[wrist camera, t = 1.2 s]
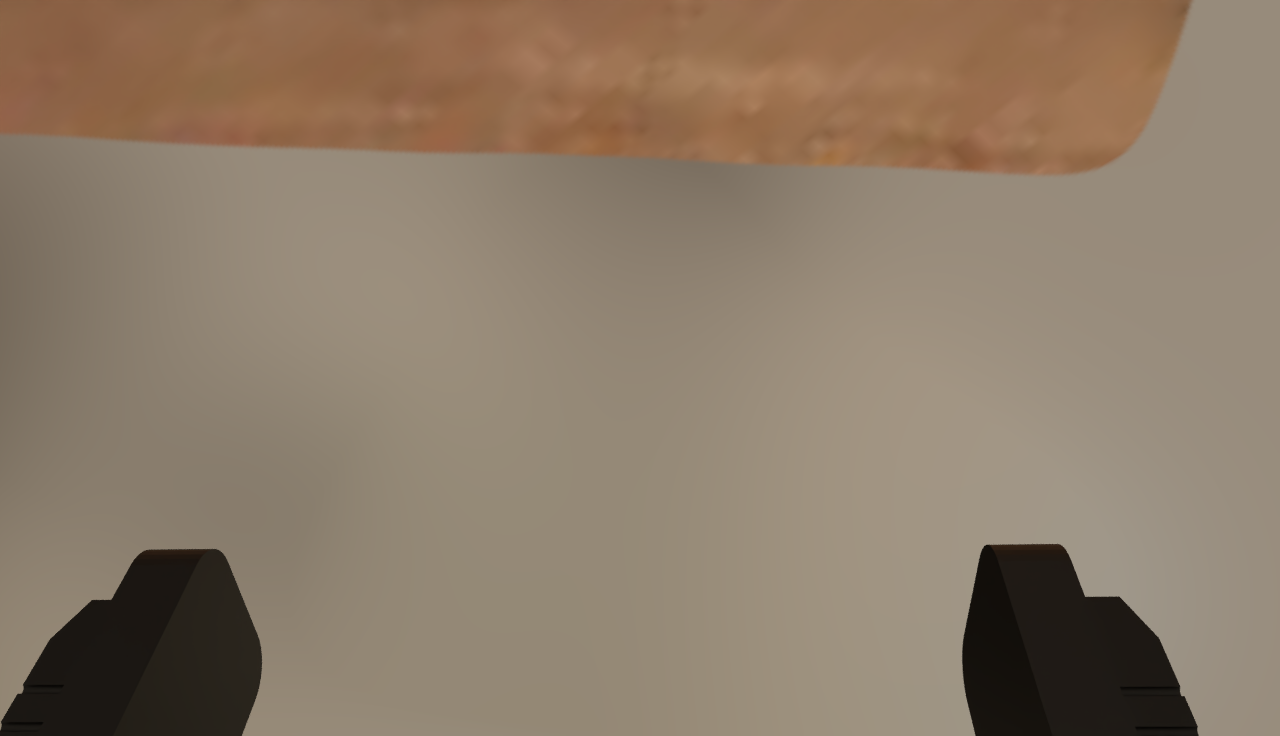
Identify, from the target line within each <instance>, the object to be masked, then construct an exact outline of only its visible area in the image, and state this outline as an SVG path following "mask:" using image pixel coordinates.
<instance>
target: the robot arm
mask: <svg viewBox="0 0 1280 736" xmlns="http://www.w3.org/2000/svg"><path fill="white" fill-rule="evenodd" d="M962 664H963V678H964V685H965V686H964V687H965V693H966V698H967V702H968V707H969V710H970V715H971V719H972V723H973V727H974V731H975V735H976V736H1198V732H1197V727H1198V726H1197V724H1196V722H1195V719H1194V717H1193V715H1192V712H1191V710H1190V708H1189V706H1188V703H1187V701H1186V699H1185V697H1184V696H1181V694H1180V685H1179V683H1178V681H1177V678H1176V676H1175V674H1174V671H1173V669H1172V667H1171V665H1170V662H1169V660H1168V658H1167V655H1166V653H1165V651H1164V649H1163V646H1162V644H1161V642H1160V639H1159V638H1158V637H1157V636H1156V635H1155V634H1154V632H1153V631H1152V630H1151V629H1150V628H1149V627H1148V626H1147V625H1146V624H1145V623H1144V622H1143V621H1142V620H1141V619H1140V618H1139V617H1138V616H1137V615H1136V614H1135V613H1134V611H1132V609H1131V608H1130V607H1129V606H1128V605H1127V604H1126V603H1125V602H1124V601H1123V600H1122V599H1121V598H1120V597H1085V595H1084V593H1083V590H1082V588H1081V585H1080V582H1079V580H1078V577H1077V574H1076V572H1075V570H1074V567H1073V564H1072V561H1071V559H1070V557H1069V555H1068V553H1067V551H1066V550H1065V548H1064V547H1063V546H1061V545H1059V544H1027V545H1026V544H1025V545H1021V544H1020V545H986V546H984V548H983V549H982V551H981V555H980V559H979V563H978V568H977V573H976V578H975V583H974V588H973V593H972V598H971V603H970V609H969V613H968V618H967V623H966V628H965V633H964V639H963V650H962ZM261 671H262V653H261V646H260V641H259V638H258V635H257V632H256V630H255V627H254V625H253V623H252V620H251V618H250V615H249V613H248V610H247V608H246V606H245V603H244V600H243V598H242V596H241V593H240V591H239V588H238V586H237V583H236V581H235V578H234V576H233V573H232V571H231V568H230V566H229V563H228V561H227V559H226V557H225V556H224V554H223V553H222V552H221V551H219V550H217V549H178V550H177V549H173V550H172V549H171V550H170V549H168V550H146V551H143V552H142V553H140V554H139V555H138V556H137V557H136V558H135V559H134V561H133V562H132V564H131V566H130V568H129V569H128V571H127V573H126V575H125V576H124V579H123V580H122V582H121V584H120V585H119V587H118V589H117V591H116V593H115V594H114V596H113V598H112V600H92V601H91V602H90V603H88V605H86V606H85V607H84V608H83V609H82V610H81V611H80V612H79V613H78V614H77V615H76V616H75V617H74V618H72V619H71V620H70V621H69V622H68V623H67V624H66V625H65V626H64V627H63V628H62V629H61V630H60V631H58V632H57V633H56V634H55V635H54V636H53V637H52V638H51V639H50V640H49V642H48V643H47V645H46V647H45V649H44V650H43V652H42V654H41V655H40V657H39V659H38V660H37V662H36V664H35V666H34V667H33V669H32V670H31V672H30V674H29V676H28V677H27V679H26V681H25V682H24V684H23V686H24V690H23V693H22V694H17V696H16V698H15V699H14V701H13V703H12V704H11V706H10V708H9V709H8V711H7V713H6V714H5V716H4V718H3V719H2V721H1V723H2V727H1V730H0V736H242V734H243V731H244V728H245V726H246V723H247V720H248V718H249V715H250V713H251V710H252V707H253V705H254V702H255V699H256V696H257V693H258V689H259V685H260V679H261Z"/></svg>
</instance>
